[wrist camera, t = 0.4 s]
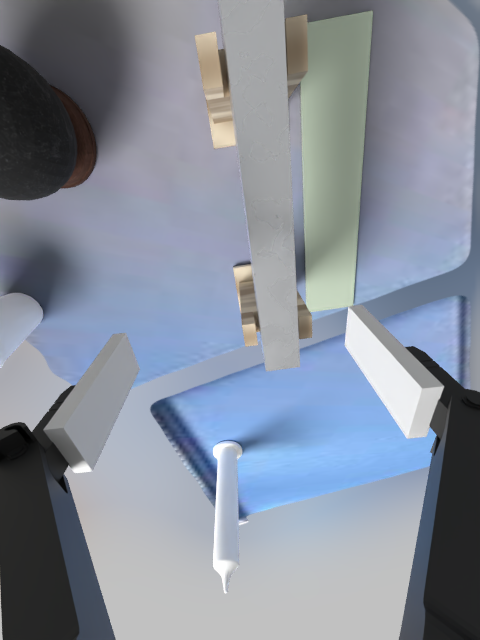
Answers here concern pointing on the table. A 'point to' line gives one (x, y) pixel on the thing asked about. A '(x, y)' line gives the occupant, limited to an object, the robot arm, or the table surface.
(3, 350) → the foam cup
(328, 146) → the mat
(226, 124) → the cradle posts
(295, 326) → the rail
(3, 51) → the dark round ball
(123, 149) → the table surface
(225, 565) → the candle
